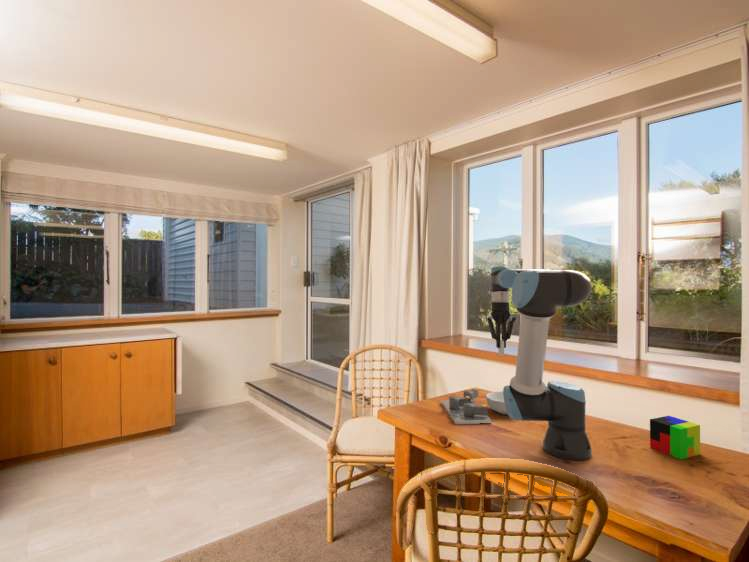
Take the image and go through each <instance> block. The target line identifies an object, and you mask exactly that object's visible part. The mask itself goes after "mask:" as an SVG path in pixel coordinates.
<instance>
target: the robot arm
mask: <svg viewBox="0 0 749 562" xmlns="http://www.w3.org/2000/svg"><path fill="white" fill-rule="evenodd" d="M490 271H491V272H490V281H491V282H490V286H491V290H490V291H491V301H492V302H491V313H490V315H489V316H488V317H485V321H486V322H487V325H488V327H489V332H490V334H491V335H490V336H491V339H493V340H495V341H496V342H495V346H496V348H497V353H498V356H500V357H505V349H506V348H507V340H510V339H511V336H512V331H513V326H514V323H515V321H516V317H514V316H512V314H511V313H510V289H511V301H512V305H513V306H514V307H515V308H516V311H517V313H519V315H520V324H519V333H518V334H519V335H518V343H517V344H518V345H517V354H516V355H517V356H516V364H515V376H512V377H511V378H510V381H509V385H505V386H503V390H502V391H503V395H504V402H505V407H506V410H507V413H508V415H507V416H508V417H509V418H510V419H511V420H513V421H521V422H527V421H528V422H548V424H547V425H548V426H547V428H546V432H545V435H544V438H543V440H542V448H543V450H544V451H545V452H546V453H548V454H550V455H551V456H553V457H554V456H555V457H556V458H559V459H563V460H571V461H586V460H588V459H591V457H592V452H593V451H592V449H593V448H592V446H591V443H590V440H589V438H588V434H587V429H586V403H587V401H586V393H585V390H584V389H583V388H582V387H580V386H578V385H576V384H573V383H569V382H565V381H559V380H548V382H547V384H546V383H545V382H543V377H544V369H545V360H546V351H547V343H548V342H547V341H548V336H549V335H548V333H549V328H550V327H549V326H550V319H552V318H553V317H555V315H556V314H557V313H556V312H557V308H571V307H572V308H573V307H575V306H578V305H580V304H583V303H584V302H585V301H586V300H588V298H589V297H590V295H591V292H592V283H591V280H590V278H589V277H588V276H587V275H586V274H584V273H582V272H580V271H577V270H573V269H572V270H571V269H564V270H556V269H555V270H554V269H552V270H551V269H546V268H540V269H511V268H509V267H508V266H505V265H504V266H502V265H501V266H500V265H499V266H498V265H497V266H493V267H491V269H490ZM493 321H494V322H493ZM507 321H508V323H507ZM494 324H495V326H494Z"/></svg>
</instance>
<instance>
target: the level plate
mask: <svg viewBox="0 0 749 562" xmlns="http://www.w3.org/2000/svg"><path fill="white" fill-rule="evenodd" d="M440 403H442V404H441V405H442V406H444V407H443V408H444V410H445V409H446V410H445V412H446V413H447V412H448V413H447V414H448V416H449V415H450V416H449V417H450V419H451V418H452V419H451V420H452V421H454V422H453V423H454V425H481V424H480V423H491V424H492V419H491V418H490V417H489V416H484V415H474V416H471V417H469V416H465V415H464V407H459V408H458V409H451V408H449V399H440ZM471 403H472V404H474V405H477V403H476V402H475V401H474V400H473V402H471Z"/></svg>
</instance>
